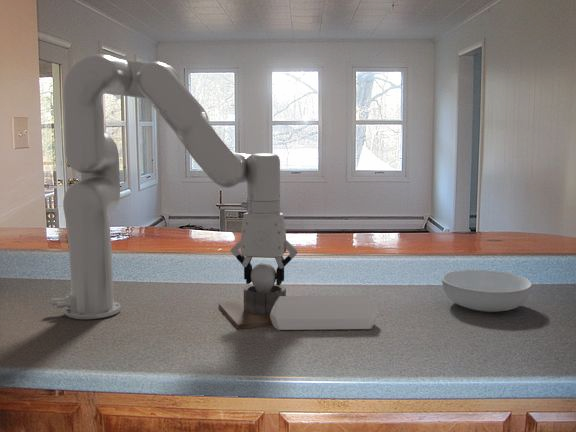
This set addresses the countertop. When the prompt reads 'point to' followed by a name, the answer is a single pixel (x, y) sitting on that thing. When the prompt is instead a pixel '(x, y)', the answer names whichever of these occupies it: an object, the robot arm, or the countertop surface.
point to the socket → (252, 307)
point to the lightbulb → (263, 277)
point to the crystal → (323, 312)
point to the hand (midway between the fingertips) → (264, 282)
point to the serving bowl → (486, 289)
